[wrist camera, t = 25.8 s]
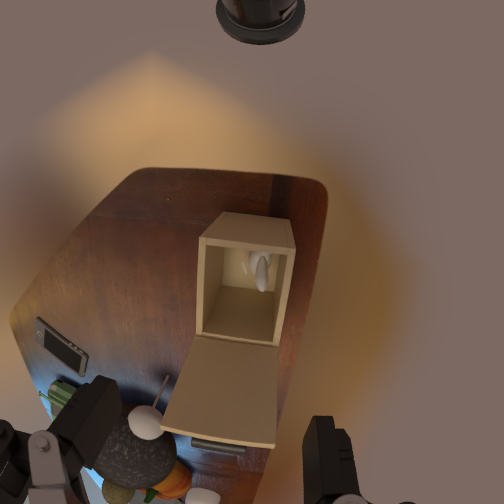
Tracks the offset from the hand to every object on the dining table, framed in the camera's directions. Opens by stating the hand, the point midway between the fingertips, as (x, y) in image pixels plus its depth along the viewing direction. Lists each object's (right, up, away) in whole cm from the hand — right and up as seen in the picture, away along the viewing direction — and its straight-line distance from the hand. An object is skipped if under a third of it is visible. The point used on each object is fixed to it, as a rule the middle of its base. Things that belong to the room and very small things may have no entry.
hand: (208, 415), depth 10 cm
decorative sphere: (-22, -30, +44) cm, 57 cm away
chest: (+2, +6, +30) cm, 30 cm away
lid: (0, -5, +13) cm, 14 cm away
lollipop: (-14, -16, +39) cm, 44 cm away
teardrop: (-14, -72, +57) cm, 93 cm away
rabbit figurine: (0, +5, +25) cm, 25 cm away
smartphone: (-40, -14, +40) cm, 58 cm away
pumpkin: (-23, -52, +51) cm, 77 cm away
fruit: (-42, -71, +59) cm, 101 cm away
